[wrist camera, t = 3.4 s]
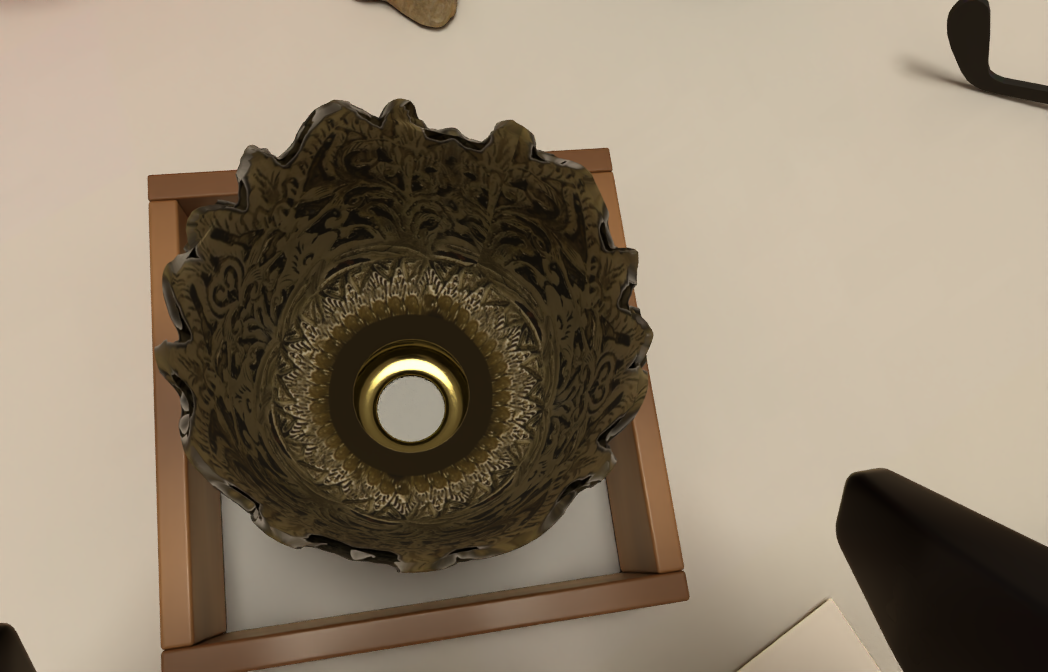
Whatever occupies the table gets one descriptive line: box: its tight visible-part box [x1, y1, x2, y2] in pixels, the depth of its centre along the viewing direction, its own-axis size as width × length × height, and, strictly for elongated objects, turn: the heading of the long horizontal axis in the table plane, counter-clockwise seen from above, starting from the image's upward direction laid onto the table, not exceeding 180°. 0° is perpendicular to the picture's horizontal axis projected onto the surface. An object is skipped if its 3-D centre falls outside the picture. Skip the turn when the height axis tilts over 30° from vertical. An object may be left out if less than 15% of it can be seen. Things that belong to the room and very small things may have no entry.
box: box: [148, 148, 689, 672], centre depth 18 cm, size 10×10×3 cm
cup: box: [154, 99, 653, 573], centre depth 16 cm, size 8×7×8 cm
